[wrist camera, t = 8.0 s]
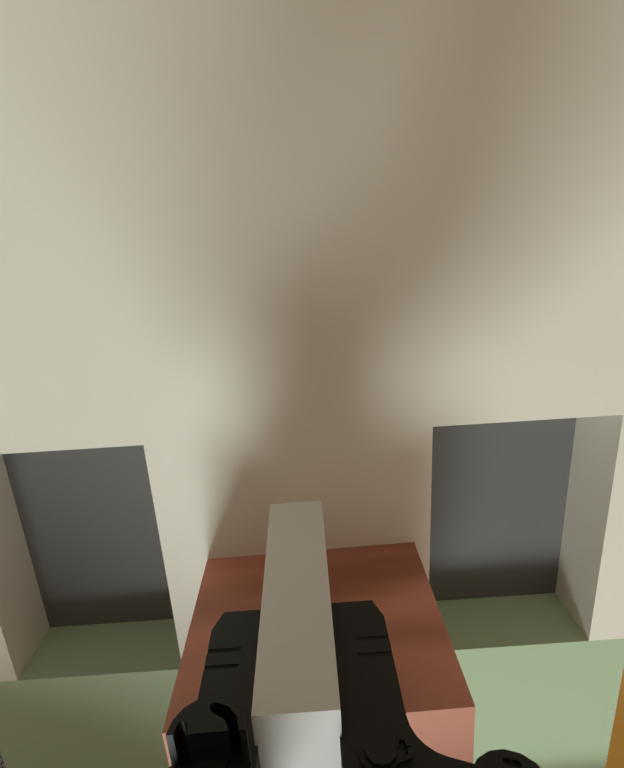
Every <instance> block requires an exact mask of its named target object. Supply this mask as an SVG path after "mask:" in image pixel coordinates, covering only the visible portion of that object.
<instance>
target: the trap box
mask: <svg viewBox="0 0 624 768" xmlns="http://www.w3.org/2000/svg"><path fill="white" fill-rule="evenodd" d="M308 501H322V511H323V522H324V533H325V544H326V549H336V548H348V547H360V546H372V545H384V544H396V543H408V542H414V543H415V546H416V548H417V551H418V554H419V556H420V559H421V562H422V564H423V567H424V570H425V573H426V575H427V578H428V581H429V583H430V586H431V589H432V591H433V594H434V597H435V599H436V602H437V605H438V608H439V610H440V613H441V616H442V618H443V621H444V624H445V626H446V629H447V632H448V634H449V637H450V640H451V642H452V645H453V648H454V651H455V653H456V656H457V659H458V661H459V664H460V667H461V669H462V672H463V675H464V677H465V680H466V683H467V686H468V688H469V691H470V694H471V696H472V699H473V702H474V704H475V729H474V755H473V764H475V762H476V760H477V758H479V757H480V756H482V755H483V754H485V753H486V752H488V751H491V750H499V749H506V750H510V751H514V752H517V753H521V754H522V755H524V756H526V757H527V758H529V759H530V760H532V761H534V762H535V763H537V764H538V765H539V767H540V768H605V765H606V760H607V754H608V749H609V744H610V737H611V733H612V727H613V722H614V716H615V711H616V706H617V700H618V695H619V689H620V684H621V679H622V673H623V668H624V0H0V754H1V756H2V759H3V762H4V765H5V768H169V762H168V758H167V753H166V749H165V745H164V740H163V736H162V731H163V727H164V724H165V720H166V716H167V712H168V708H169V704H170V700H171V697H172V693H173V689H174V685H175V681H176V677H177V674H178V670H179V666H180V662H181V658H182V654H183V650H184V647H185V643H186V639H187V635H188V631H189V627H190V624H191V620H192V616H193V612H194V608H195V604H196V601H197V597H198V593H199V589H200V585H201V581H202V577H203V574H204V570H205V566H206V562H207V559H215V558H227V557H239V556H251V555H263V554H266V547H267V536H268V525H269V514H270V504H280V503H294V502H308Z"/></svg>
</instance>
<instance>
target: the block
mask: <svg viewBox="0 0 624 768" xmlns="http://www.w3.org/2000/svg"><path fill="white" fill-rule="evenodd" d="M326 555H327V566H328V577H329V587H330V598H331V603H337V602H351V601H365V600H372V601H373V602H374V604H375V605H376V606H377V607H378V609H379V610H380V611H381V613H382V614H383V615H384V618H385V622H386V627H387V631H388V637H389V640H390V645H391V649H392V655H393V658H394V663H395V667H396V672H397V676H398V681H399V685H400V689H401V694H402V698H403V703H404V707H405V712H406V716H407V719H408V722H409V724H410V727H411V728H412V730H413V731H414V733H415V734H416V736H417V737H418V738H419V739H420V740H421V741H422V742H423V743H424V744H425V745H426V746H428V747H429V748H431V749H433V750H434V751H436V752H438V753H440V754H443V755H445V756H448V757H451V758H455V759H459V760H462V761H466V762H470V763H473V755H474V729H475V704H474V702H473V699H472V696H471V694H470V691H469V688H468V686H467V683H466V680H465V677H464V675H463V672H462V669H461V667H460V664H459V661H458V659H457V656H456V653H455V651H454V648H453V645H452V642H451V640H450V637H449V634H448V632H447V629H446V626H445V624H444V621H443V618H442V616H441V613H440V610H439V608H438V605H437V602H436V599H435V597H434V594H433V591H432V589H431V586H430V583H429V581H428V578H427V575H426V573H425V570H424V567H423V564H422V562H421V559H420V556H419V554H418V551H417V548H416V546H415V543H414V542H408V543H396V544H384V545H372V546H360V547H348V548H336V549H326ZM265 558H266V554H263V555H251V556H239V557H227V558H215V559H207V562H206V566H205V570H204V574H203V577H202V581H201V585H200V589H199V593H198V597H197V601H196V604H195V608H194V612H193V616H192V620H191V624H190V627H189V631H188V635H187V639H186V643H185V647H184V650H183V654H182V658H181V662H180V666H179V670H178V674H177V677H176V681H175V685H174V689H173V693H172V697H171V700H170V704H169V708H168V712H167V716H166V720H165V724H164V727H163V731H162V736H163V740H164V745H165V749H166V753H167V758H168V762H169V767H170V766H172V764H171V759H170V754H169V750H168V745H167V740H166V733H167V731H168V729H169V727H170V724H171V722H172V720H173V719H174V718H175V717H176V716H177V715H178V714H179V712H180V711H181V710H182V709H183V708H184V707H186V706H188V705H189V704H191V703H193V702H194V701H196V700H197V699H198V694H199V689H200V684H201V680H202V675H203V670H204V665H205V660H206V655H207V653H208V646H209V641H210V636H211V631H212V629H213V627H214V626H215V624H216V623H217V621H218V620H219V619H220V617H221V616H222V614H223V613H224V612H232V611H246V610H260V609H261V602H262V591H263V580H264V569H265Z"/></svg>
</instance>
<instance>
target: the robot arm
mask: <svg viewBox="0 0 624 768" xmlns="http://www.w3.org/2000/svg"><path fill="white" fill-rule="evenodd" d="M166 740H167V745H168V750H169V754H170V759H171V764H172V766H170V767H169V768H540V767H539V765H538V764H537V763H535V762H534V761H532V760H530V759H529V758H527V757H526V756H524V755H522V754H521V753H517V752H514V751H510V750H506V749H499V750H491V751H488V752H486V753H485V754H483V755H482V756H480V757H479V758H477V760H476V762H475V764H473V763H470V762H466V761H462V760H459V759H455V758H451V757H448V756H445V755H443V754H440V753H438V752H436V751H434V750H433V749H431V748H429V747H428V746H426V745H425V744H424V743H423V742H422V741H421V740H420V739H419V738H418V737H417V736H416V734H415V733H414V731H413V730H412V728H411V727H410V724H409V722H408V719H407V716H406V712H405V707H404V703H403V698H402V694H401V689H400V685H399V681H398V676H397V672H396V667H395V663H394V658H393V655H392V649H391V645H390V640H389V637H388V631H387V627H386V622H385V618H384V615H383V614H382V613H381V611H380V610H379V609H378V607H377V606H376V605H375V604H374V602H373V601H372V600H365V601H351V602H337V603H331V598H330V587H329V577H328V566H327V555H326V544H325V533H324V522H323V511H322V501H308V502H294V503H280V504H270V514H269V525H268V536H267V547H266V558H265V569H264V580H263V591H262V602H261V609H260V610H246V611H232V612H224V613H223V614H222V616H221V617H220V619H219V620H218V621H217V623H216V624H215V626H214V627H213V629H212V631H211V636H210V641H209V646H208V653H207V655H206V660H205V665H204V670H203V675H202V680H201V684H200V689H199V694H198V699H197V700H196V701H194V702H193V703H191V704H189V705H188V706H186V707H184V708H183V709H182V710H181V711H180V712H179V714H178V715H177V716H176V717H175V718H174V719H173V720H172V722H171V724H170V727H169V729H168V731H167V733H166Z"/></svg>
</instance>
